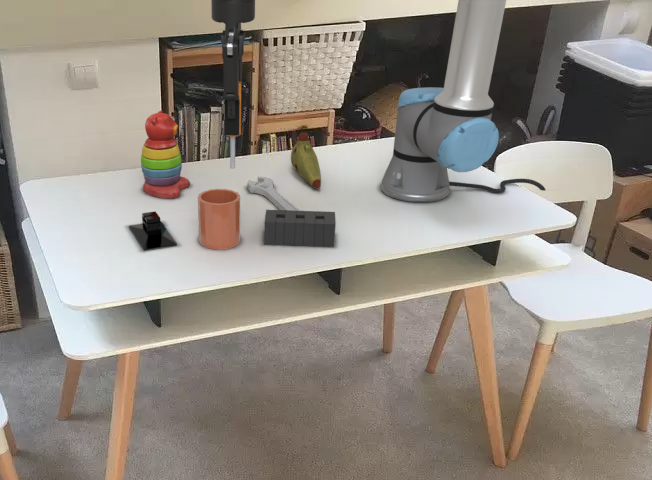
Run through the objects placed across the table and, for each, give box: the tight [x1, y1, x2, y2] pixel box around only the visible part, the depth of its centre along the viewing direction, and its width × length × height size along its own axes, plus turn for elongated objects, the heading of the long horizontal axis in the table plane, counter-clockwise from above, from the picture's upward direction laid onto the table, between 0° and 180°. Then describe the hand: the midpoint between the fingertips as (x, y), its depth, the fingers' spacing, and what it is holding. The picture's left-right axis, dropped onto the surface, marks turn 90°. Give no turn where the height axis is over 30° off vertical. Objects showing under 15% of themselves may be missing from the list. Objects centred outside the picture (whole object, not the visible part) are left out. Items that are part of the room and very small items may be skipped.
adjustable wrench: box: [247, 176, 301, 211], centre depth 171 cm, size 25×6×2 cm, turn 17°
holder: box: [263, 209, 337, 248], centre depth 153 cm, size 14×6×5 cm, turn 84°
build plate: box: [128, 211, 178, 252], centre depth 156 cm, size 12×7×5 cm, turn 19°
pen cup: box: [197, 188, 241, 250], centre depth 152 cm, size 8×8×10 cm
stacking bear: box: [140, 109, 191, 200], centre depth 174 cm, size 11×10×18 cm
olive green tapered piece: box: [290, 131, 322, 190], centre depth 181 cm, size 20×5×10 cm, turn 11°
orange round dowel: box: [225, 82, 242, 169], centre depth 142 cm, size 3×3×16 cm
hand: (232, 131), depth 143 cm, fingers closed on orange round dowel, 3 cm apart
